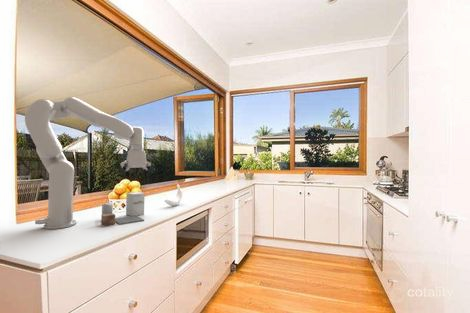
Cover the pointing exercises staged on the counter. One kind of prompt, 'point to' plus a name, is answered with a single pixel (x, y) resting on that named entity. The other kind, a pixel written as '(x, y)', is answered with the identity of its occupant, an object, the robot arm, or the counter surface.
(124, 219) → the charcoal mat
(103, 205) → the grey canister
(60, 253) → the counter surface
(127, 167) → the robot arm
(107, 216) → the walnut block
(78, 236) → the counter surface
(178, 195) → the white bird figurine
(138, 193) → the supplement box
